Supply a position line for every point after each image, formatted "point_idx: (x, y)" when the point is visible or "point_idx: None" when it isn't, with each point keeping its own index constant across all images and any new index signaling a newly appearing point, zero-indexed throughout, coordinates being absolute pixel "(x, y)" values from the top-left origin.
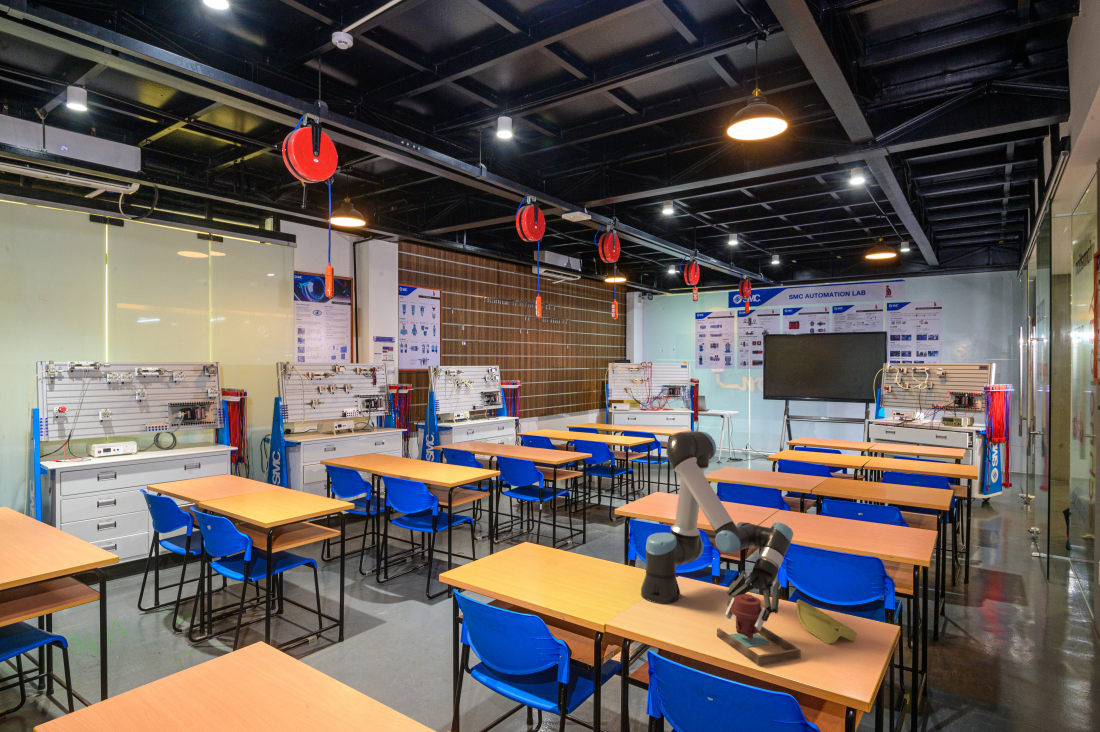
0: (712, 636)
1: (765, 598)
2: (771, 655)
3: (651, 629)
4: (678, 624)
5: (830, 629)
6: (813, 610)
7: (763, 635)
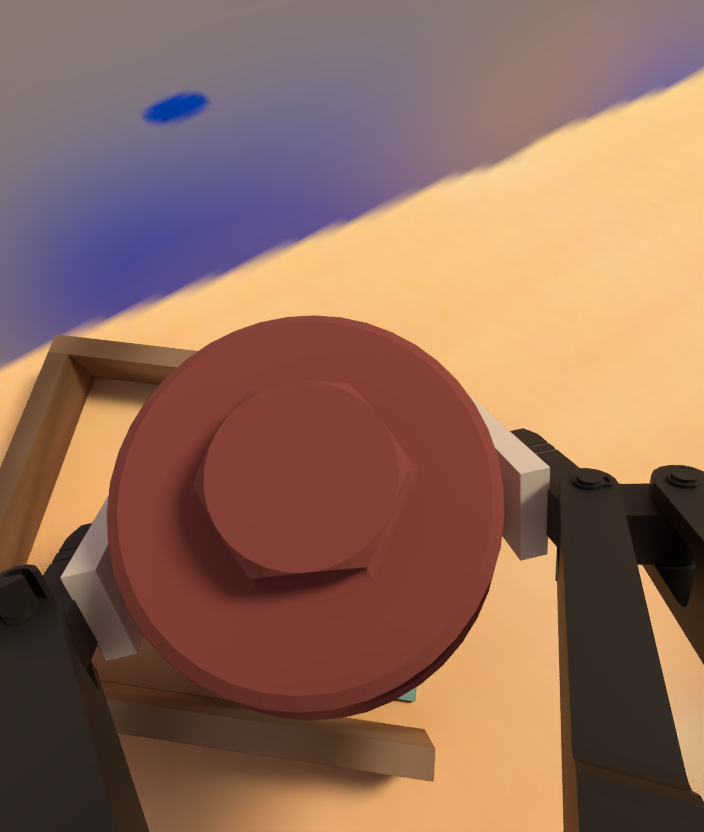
0: None
1: (50, 721)
2: (21, 424)
3: (622, 169)
4: (651, 310)
5: None
6: None
7: None
